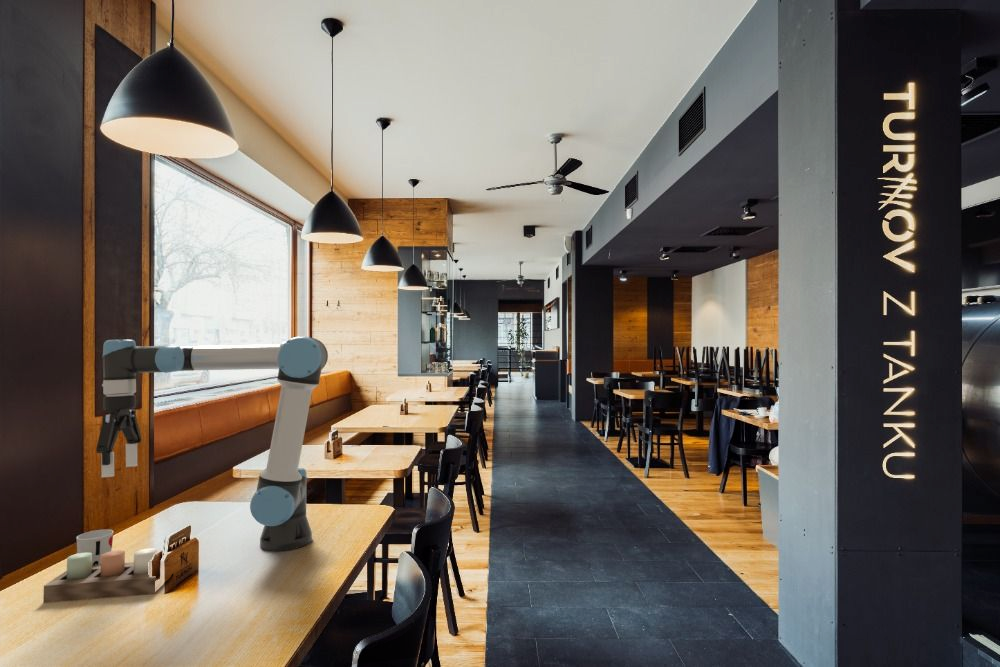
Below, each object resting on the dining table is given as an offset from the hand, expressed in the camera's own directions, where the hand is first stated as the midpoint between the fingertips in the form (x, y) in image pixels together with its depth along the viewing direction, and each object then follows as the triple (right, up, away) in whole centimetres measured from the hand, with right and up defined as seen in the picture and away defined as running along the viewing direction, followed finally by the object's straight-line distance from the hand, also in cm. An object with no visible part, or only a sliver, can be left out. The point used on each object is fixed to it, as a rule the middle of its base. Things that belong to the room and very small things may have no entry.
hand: (120, 471), depth 152 cm
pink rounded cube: (+7, -23, -13) cm, 27 cm away
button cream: (+15, -23, -12) cm, 30 cm away
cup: (-5, -27, -3) cm, 27 cm away
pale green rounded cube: (0, -23, -15) cm, 27 cm away
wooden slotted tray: (+7, -26, -14) cm, 30 cm away
